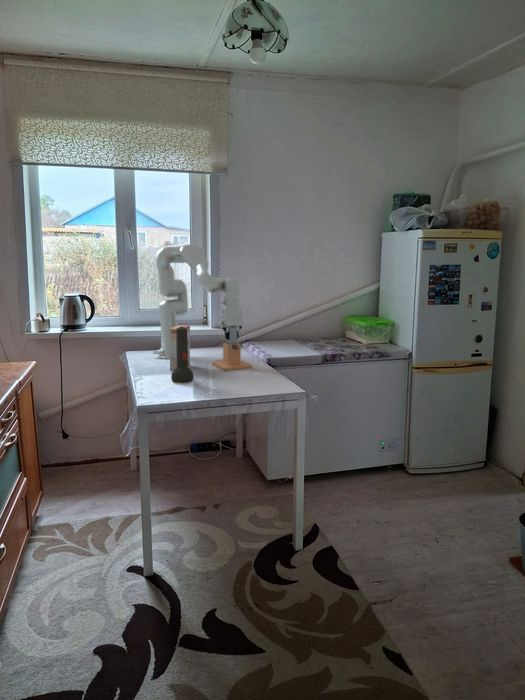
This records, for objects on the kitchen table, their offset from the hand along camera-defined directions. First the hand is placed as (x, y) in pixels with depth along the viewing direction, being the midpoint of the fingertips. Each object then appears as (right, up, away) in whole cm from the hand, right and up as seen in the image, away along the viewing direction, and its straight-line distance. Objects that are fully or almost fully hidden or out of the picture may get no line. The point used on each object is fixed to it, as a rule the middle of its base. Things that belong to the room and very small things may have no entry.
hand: (231, 338), depth 256 cm
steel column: (0, -12, +2) cm, 12 cm away
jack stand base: (0, -14, +3) cm, 14 cm away
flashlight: (-21, -20, -28) cm, 40 cm away
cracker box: (-26, -15, -2) cm, 30 cm away
